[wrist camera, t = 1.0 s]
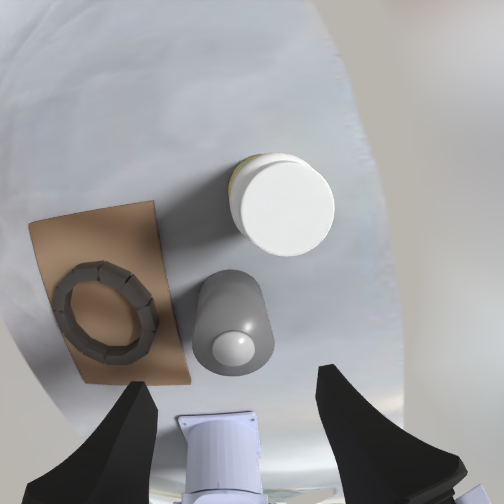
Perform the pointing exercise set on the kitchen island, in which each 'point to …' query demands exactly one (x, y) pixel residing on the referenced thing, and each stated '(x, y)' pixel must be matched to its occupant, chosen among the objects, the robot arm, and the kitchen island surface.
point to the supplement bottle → (280, 203)
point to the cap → (232, 325)
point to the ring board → (112, 294)
